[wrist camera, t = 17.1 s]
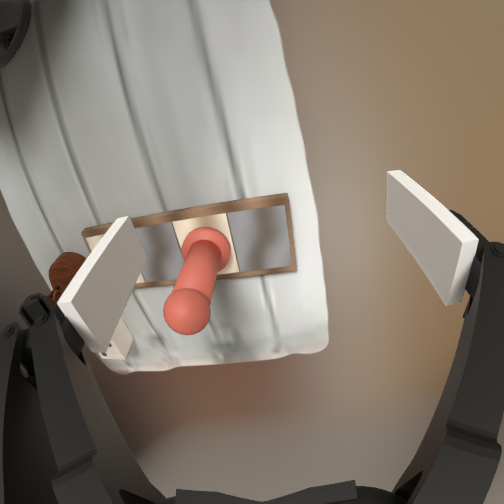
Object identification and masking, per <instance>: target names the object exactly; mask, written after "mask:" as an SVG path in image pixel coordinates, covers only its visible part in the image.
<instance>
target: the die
mask: <svg viewBox="0 0 504 504" xmlns="http://www.w3.org/2000/svg"><path fill="white" fill-rule="evenodd" d="M133 339H134V337H133V336H132V334H131V332H130V331H129V329H128V327H127V326H126V324H125V322H124V320H123V319H122V318H120V320H119V322H118V324H117V327H116V329H115V332H114V334H113V337H112V339H111V341H110V344H109V346H108V349H107V352H106V353H99V355H100V356H101V358H102V359H123V360H125V359H126V356H127V354H128V351H129V349H130V346H131V344H132V341H133Z"/></svg>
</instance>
